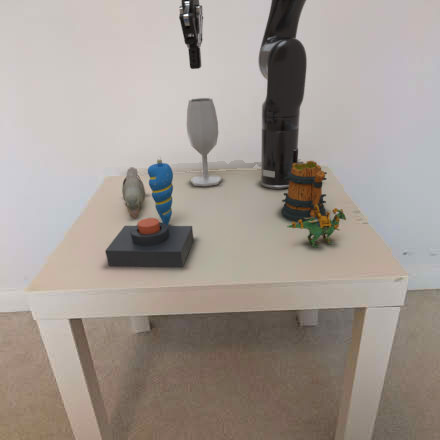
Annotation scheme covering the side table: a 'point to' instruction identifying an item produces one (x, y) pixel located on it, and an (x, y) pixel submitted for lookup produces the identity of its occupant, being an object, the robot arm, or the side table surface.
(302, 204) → the mug
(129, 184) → the decorative bird
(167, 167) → the ornament
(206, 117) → the wineglass
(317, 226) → the figurine
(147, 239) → the buzzer
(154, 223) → the button
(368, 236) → the side table surface
